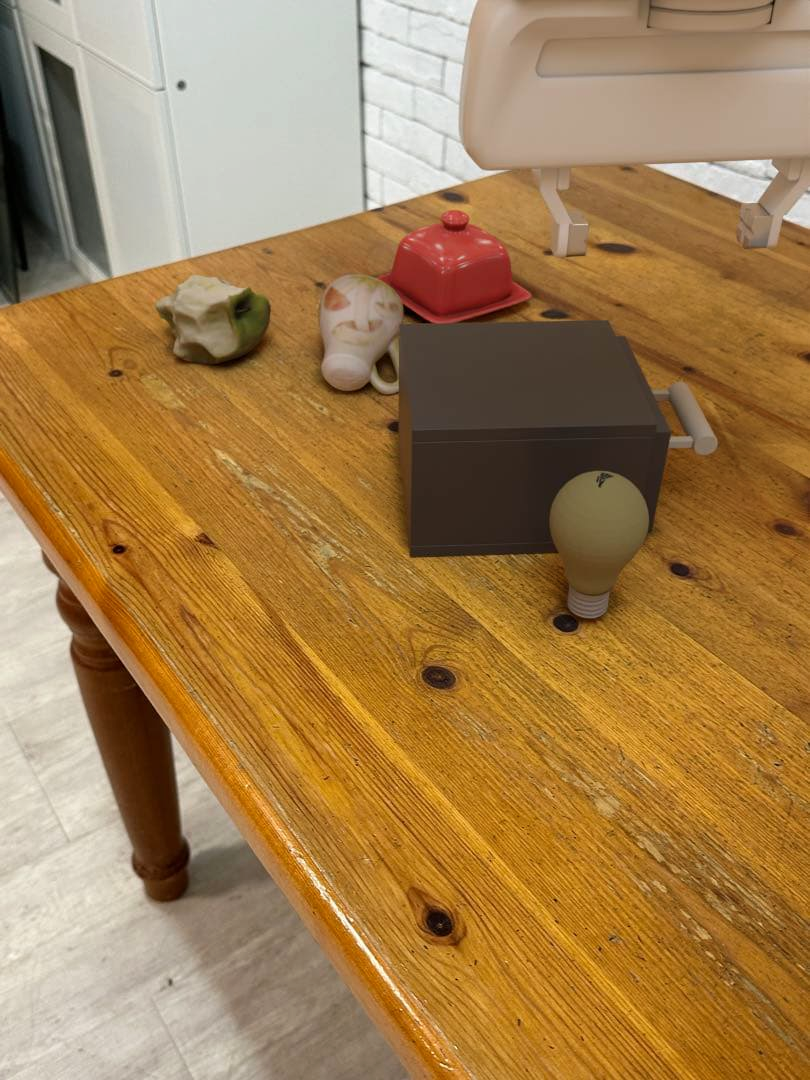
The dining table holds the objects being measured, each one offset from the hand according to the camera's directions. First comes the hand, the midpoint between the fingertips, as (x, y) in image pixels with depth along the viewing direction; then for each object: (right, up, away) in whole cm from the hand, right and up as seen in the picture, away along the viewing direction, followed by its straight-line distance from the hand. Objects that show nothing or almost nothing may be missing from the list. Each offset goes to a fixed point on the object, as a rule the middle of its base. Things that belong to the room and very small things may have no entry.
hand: (661, 248), depth 52 cm
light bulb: (-2, -19, +13) cm, 23 cm away
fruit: (-29, +2, +39) cm, 48 cm away
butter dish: (-8, +8, +47) cm, 48 cm away
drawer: (-1, -10, +22) cm, 24 cm away
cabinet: (-5, -11, +22) cm, 26 cm away
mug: (-16, 0, +36) cm, 40 cm away
